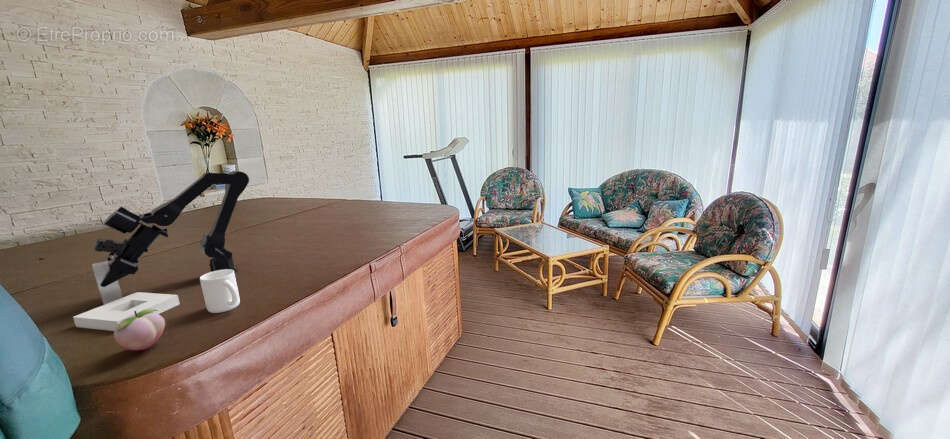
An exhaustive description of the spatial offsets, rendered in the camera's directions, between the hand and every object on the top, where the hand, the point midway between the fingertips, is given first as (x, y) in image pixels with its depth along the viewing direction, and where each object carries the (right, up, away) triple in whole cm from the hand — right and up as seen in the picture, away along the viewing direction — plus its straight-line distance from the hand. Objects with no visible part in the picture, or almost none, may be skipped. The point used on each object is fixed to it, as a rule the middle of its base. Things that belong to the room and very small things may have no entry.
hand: (101, 284), depth 113 cm
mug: (+42, -6, -5) cm, 43 cm away
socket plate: (+15, -8, -6) cm, 18 cm away
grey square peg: (+1, -6, +2) cm, 7 cm away
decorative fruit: (+35, -11, -25) cm, 45 cm away
